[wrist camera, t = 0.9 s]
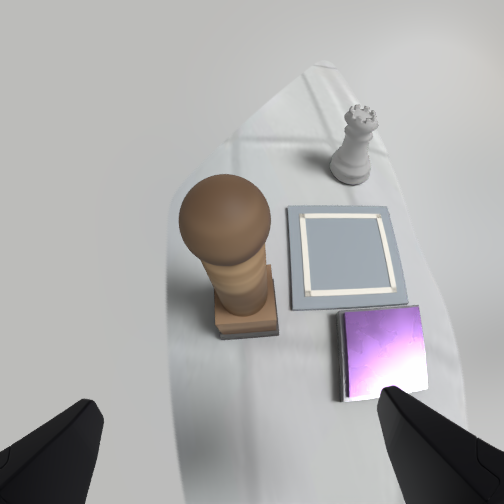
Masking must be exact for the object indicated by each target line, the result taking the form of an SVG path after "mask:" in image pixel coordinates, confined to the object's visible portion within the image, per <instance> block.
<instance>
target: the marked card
mask: <svg viewBox="0 0 504 504" xmlns="http://www.w3.org/2000/svg"><path fill="white" fill-rule="evenodd" d="M288 221H289V238H290V258H291V280H292V307H293V311H299V310H328V309H349V308H366V307H381V306H394V305H406V304H408V303H409V302H408V296H407V290H406V285H405V279H404V274H403V270H402V265H401V260H400V256H399V251H398V247H397V243H396V239H395V235H394V231H393V227H392V223H391V219H390V216H389V212H388V209H387V206H288Z"/></svg>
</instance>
